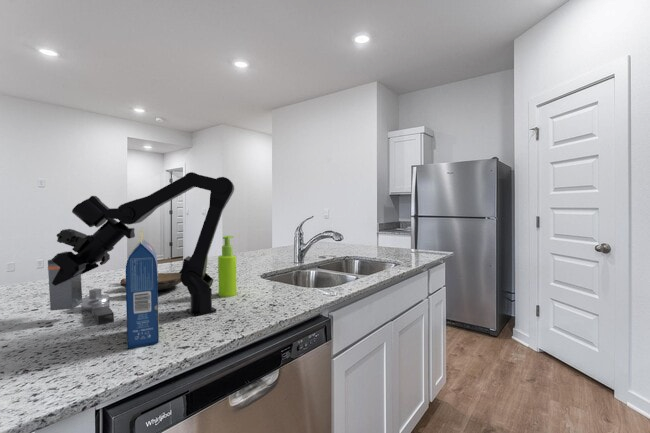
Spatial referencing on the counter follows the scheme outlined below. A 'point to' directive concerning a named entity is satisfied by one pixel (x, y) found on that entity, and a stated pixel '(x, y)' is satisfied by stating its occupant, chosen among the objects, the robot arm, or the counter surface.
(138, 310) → the blue food package
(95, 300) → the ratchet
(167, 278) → the notched wooden ornament
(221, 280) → the soap dispenser
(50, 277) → the grey orange-striped post
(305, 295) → the counter surface
